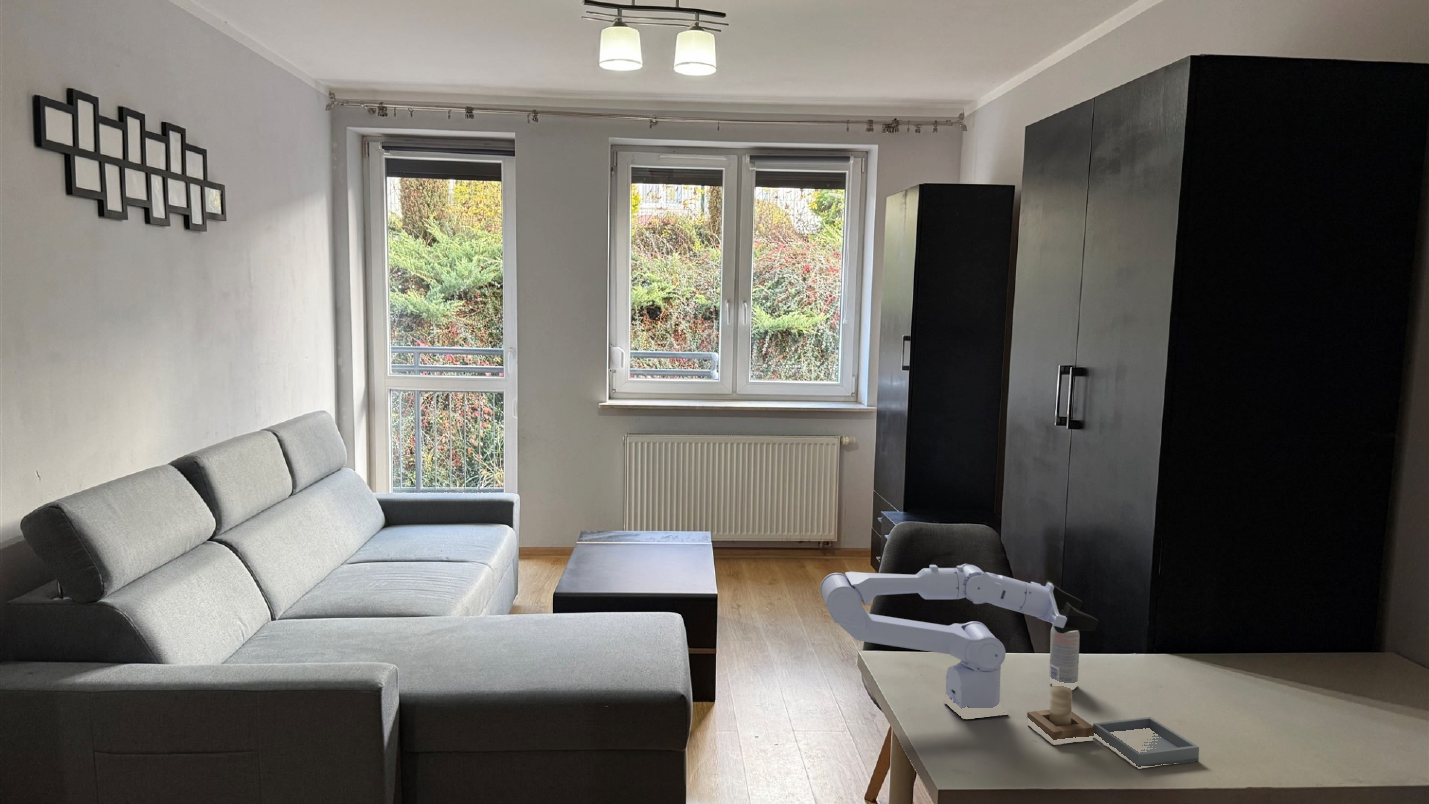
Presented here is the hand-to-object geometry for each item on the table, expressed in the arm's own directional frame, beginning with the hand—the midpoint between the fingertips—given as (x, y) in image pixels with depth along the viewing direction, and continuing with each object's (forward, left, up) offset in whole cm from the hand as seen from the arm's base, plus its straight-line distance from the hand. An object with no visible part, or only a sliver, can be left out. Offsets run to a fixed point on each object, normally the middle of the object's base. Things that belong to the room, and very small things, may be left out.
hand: (1087, 615), depth 165 cm
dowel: (-11, -8, -18) cm, 23 cm away
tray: (0, -16, -18) cm, 24 cm away
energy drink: (+2, +10, -18) cm, 21 cm away
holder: (-11, -8, -18) cm, 22 cm away
